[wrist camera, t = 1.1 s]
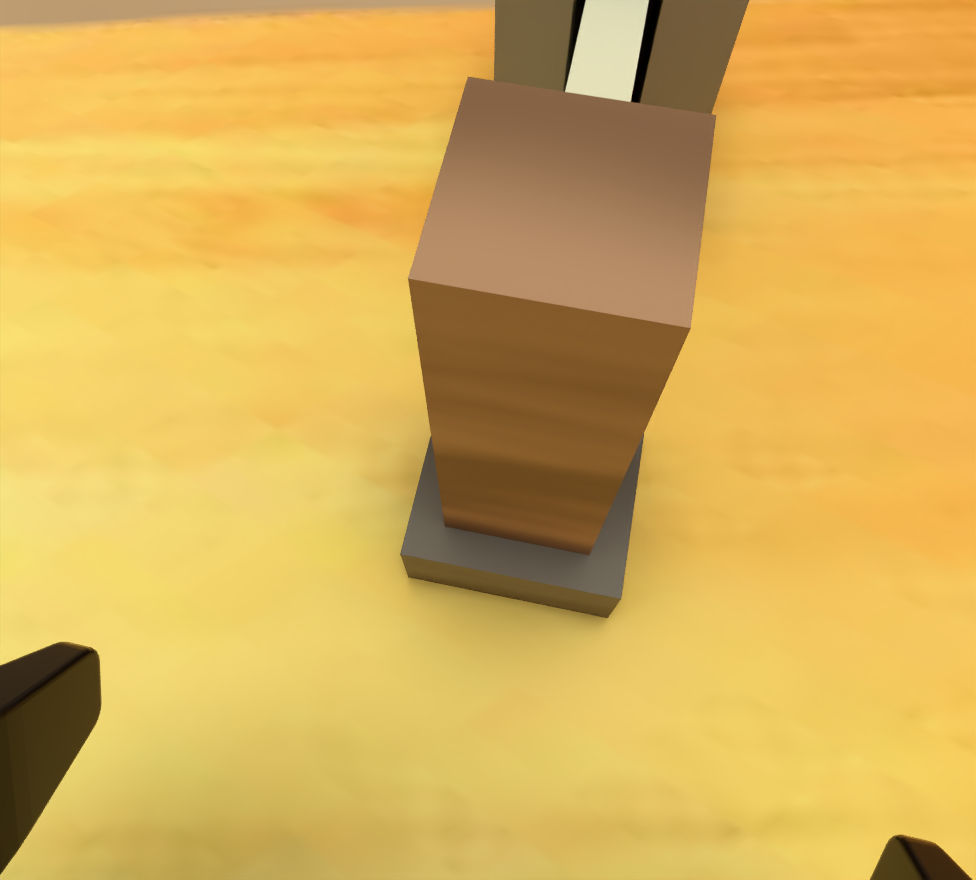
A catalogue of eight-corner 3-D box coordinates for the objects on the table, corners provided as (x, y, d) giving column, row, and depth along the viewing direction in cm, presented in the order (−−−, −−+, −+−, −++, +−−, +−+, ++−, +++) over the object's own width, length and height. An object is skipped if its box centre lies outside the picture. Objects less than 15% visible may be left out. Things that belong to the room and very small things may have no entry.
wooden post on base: (607, 617, 23) (759, 405, 10) (408, 577, 24) (319, 325, 11) (633, 435, 26) (783, 79, 13) (452, 401, 26) (422, 25, 13)
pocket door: (570, 393, 25) (613, 195, 17) (524, 385, 25) (544, 184, 17) (606, 199, 28) (657, -50, 20) (564, 192, 29) (599, -58, 20)
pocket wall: (662, 259, 28) (762, -41, 18) (492, 231, 29) (496, -78, 19) (687, 83, 32) (783, -253, 22) (535, 60, 32) (558, -279, 22)
